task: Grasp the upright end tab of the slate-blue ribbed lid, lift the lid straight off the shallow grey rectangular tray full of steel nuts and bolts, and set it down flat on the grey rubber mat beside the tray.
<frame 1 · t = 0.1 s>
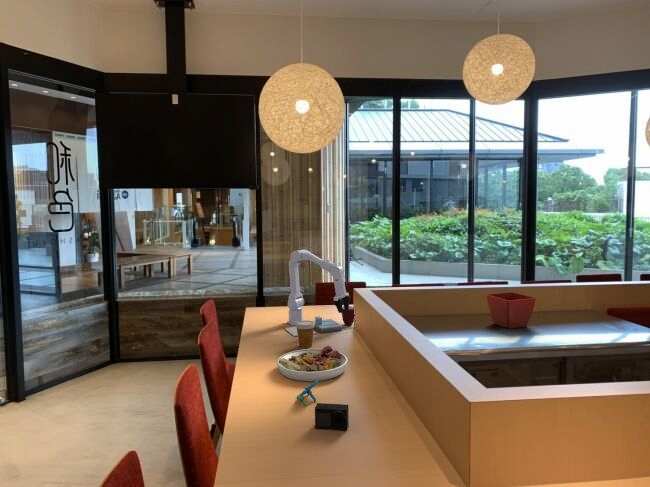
hand: (343, 311, 267), 11 cm above the counter, tool pointing down, fingers open, 7 cm apart
disposable coffee cup: (305, 346, 239), on the counter
grey rectangular tray: (326, 328, 271), on the counter
bowl: (312, 371, 205), on the counter
mug: (350, 325, 277), on the counter
plant pot: (510, 325, 271), on the counter
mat: (300, 331, 265), on the counter
digital camera: (331, 428, 153), on the counter
blue green plastic toy: (306, 401, 174), on the counter
lid: (326, 325, 271), point 2 cm above the counter, touching grey rectangular tray
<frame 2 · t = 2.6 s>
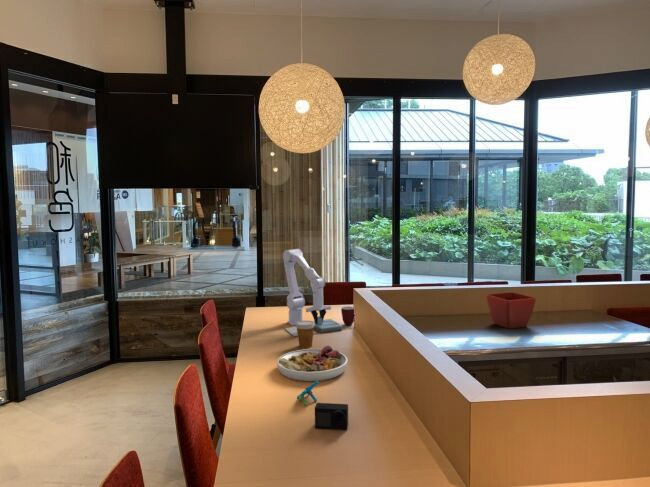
hand: (318, 323, 269), 3 cm above the counter, tool pointing down, fingers closed on lid, 2 cm apart
lid: (326, 325, 271), point 2 cm above the counter, touching gripper, grey rectangular tray
everything else where it was.
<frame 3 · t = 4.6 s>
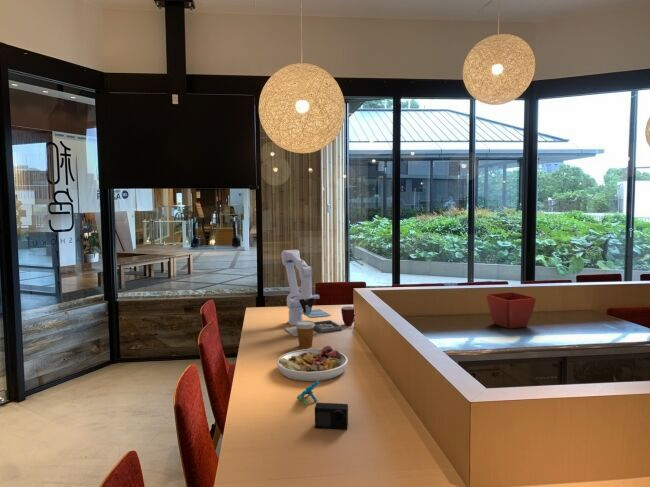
hand: (306, 312, 266), 10 cm above the counter, tool pointing down, fingers closed on lid, 2 cm apart
lid: (314, 314, 268), point 9 cm above the counter, touching gripper
everything else where it was.
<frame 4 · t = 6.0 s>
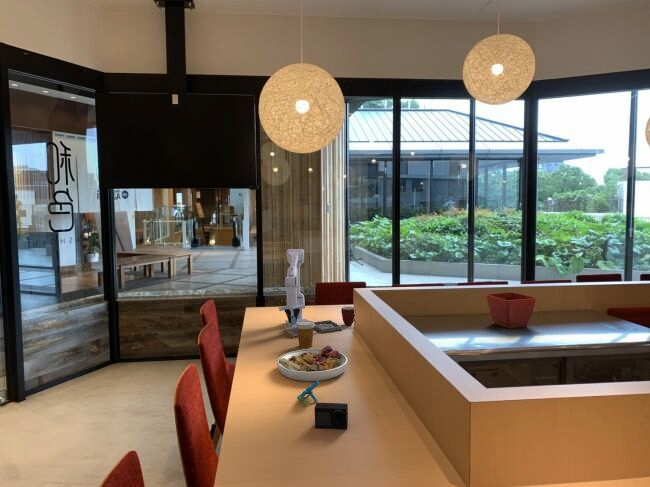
hand: (292, 322, 263), 6 cm above the counter, tool pointing down, fingers closed on lid, 2 cm apart
lid: (300, 324, 265), point 4 cm above the counter, touching gripper
everything else where it was.
when the fingers open (4 cm above the counter, at t = 7.0 s): lid drops 2 cm, resting on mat.
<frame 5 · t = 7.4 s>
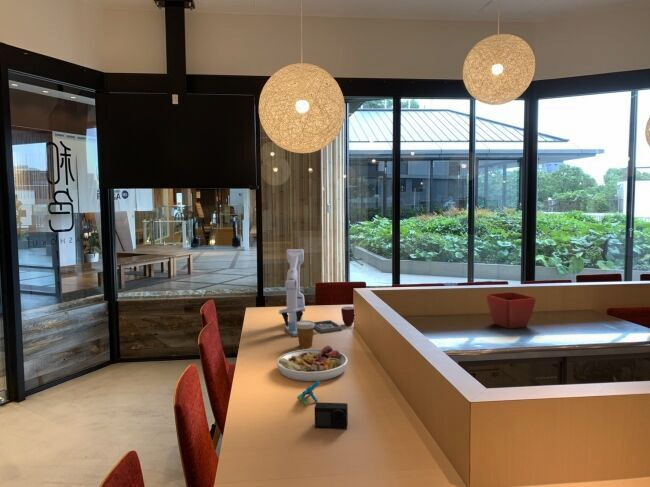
hand: (292, 325, 263), 4 cm above the counter, tool pointing down, fingers open, 6 cm apart
lid: (299, 330, 265), point 1 cm above the counter, touching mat
everything else where it was.
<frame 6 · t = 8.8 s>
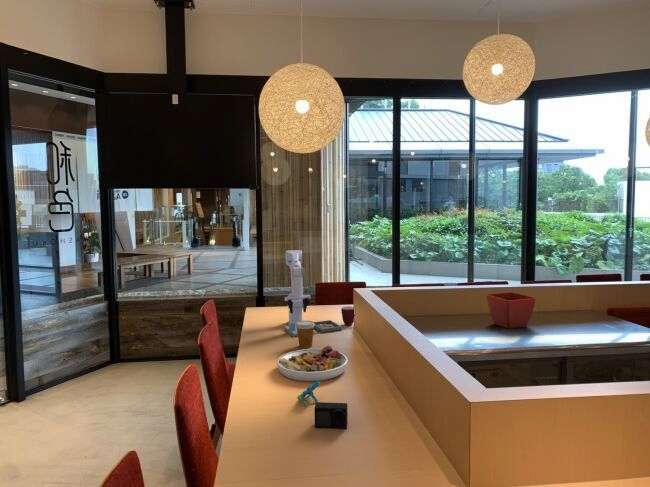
hand: (298, 312, 266), 10 cm above the counter, tool pointing down, fingers open, 7 cm apart
nothing on the counter moved.
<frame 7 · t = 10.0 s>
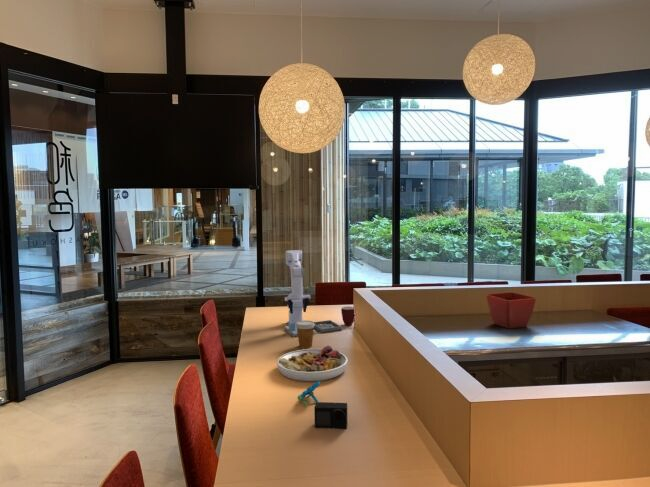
hand: (298, 312, 266), 10 cm above the counter, tool pointing down, fingers open, 7 cm apart
at the end: lid inside the target area on the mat (0.3 cm from its centre), point 0.6 cm above the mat's base; lid touching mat; the gripper is holding nothing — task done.
